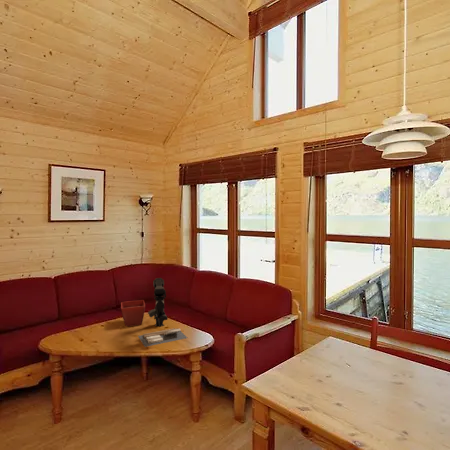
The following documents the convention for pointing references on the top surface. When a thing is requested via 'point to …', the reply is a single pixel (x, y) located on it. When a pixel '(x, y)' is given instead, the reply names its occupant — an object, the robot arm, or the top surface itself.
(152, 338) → the light beige plank
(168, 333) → the beige flat square block
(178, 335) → the underlay
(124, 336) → the top surface
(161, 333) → the light brown plank
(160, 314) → the robot arm
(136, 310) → the plant pot
